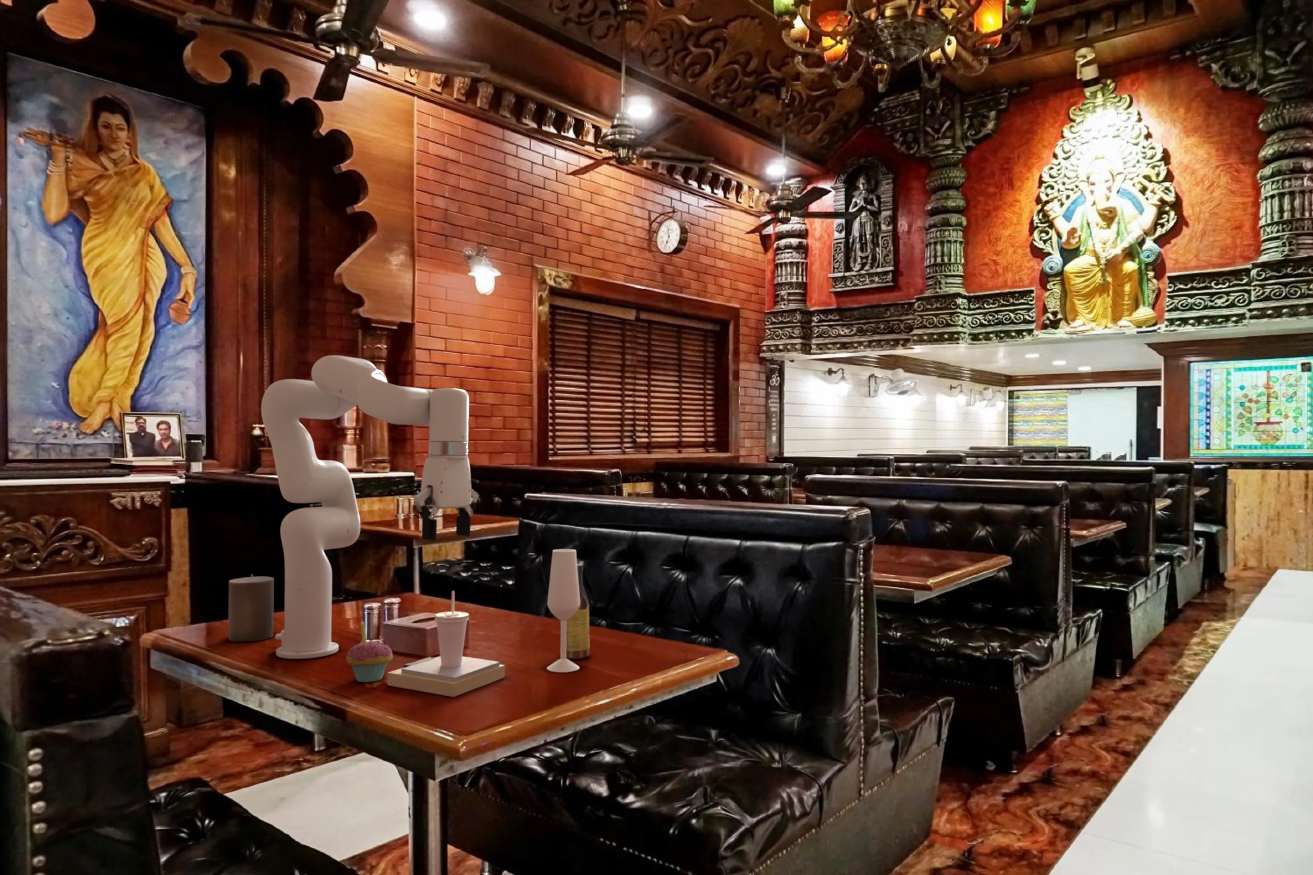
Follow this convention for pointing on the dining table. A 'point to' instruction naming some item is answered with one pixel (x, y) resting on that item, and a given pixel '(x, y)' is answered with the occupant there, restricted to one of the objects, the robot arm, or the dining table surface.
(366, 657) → the cupcake
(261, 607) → the pillar candle
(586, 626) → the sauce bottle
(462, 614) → the smoothie
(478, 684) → the scale
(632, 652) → the dining table surface
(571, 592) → the champagne flute
